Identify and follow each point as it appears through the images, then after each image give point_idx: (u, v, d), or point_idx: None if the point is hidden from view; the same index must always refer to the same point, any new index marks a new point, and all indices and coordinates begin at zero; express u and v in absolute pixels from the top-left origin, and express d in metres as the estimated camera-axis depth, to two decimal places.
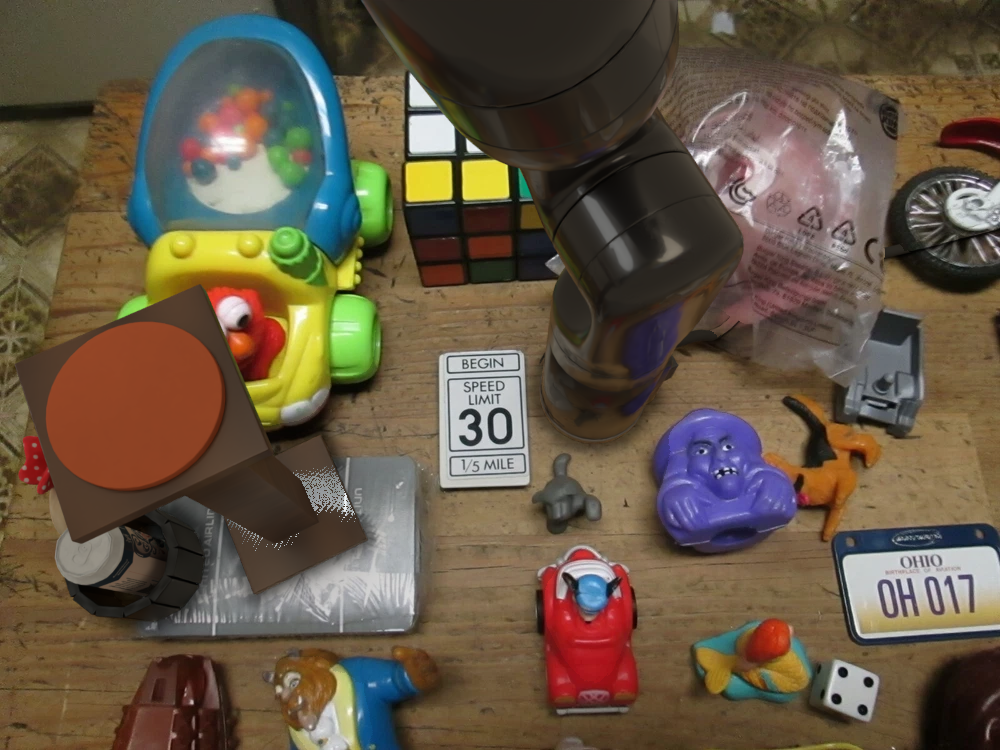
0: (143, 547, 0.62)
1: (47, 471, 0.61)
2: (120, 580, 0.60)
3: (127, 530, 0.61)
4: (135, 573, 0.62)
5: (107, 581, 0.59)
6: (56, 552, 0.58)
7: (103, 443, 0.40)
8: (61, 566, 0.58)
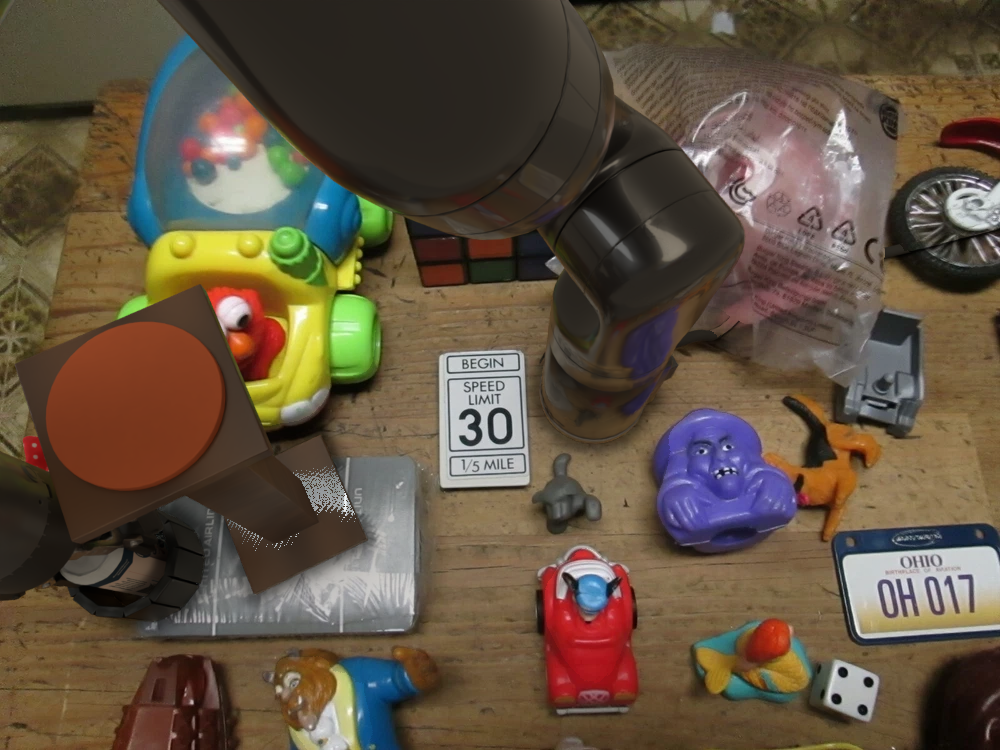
0: None
1: None
2: (120, 580, 0.60)
3: None
4: (135, 573, 0.62)
5: (107, 581, 0.59)
6: None
7: (103, 443, 0.40)
8: None
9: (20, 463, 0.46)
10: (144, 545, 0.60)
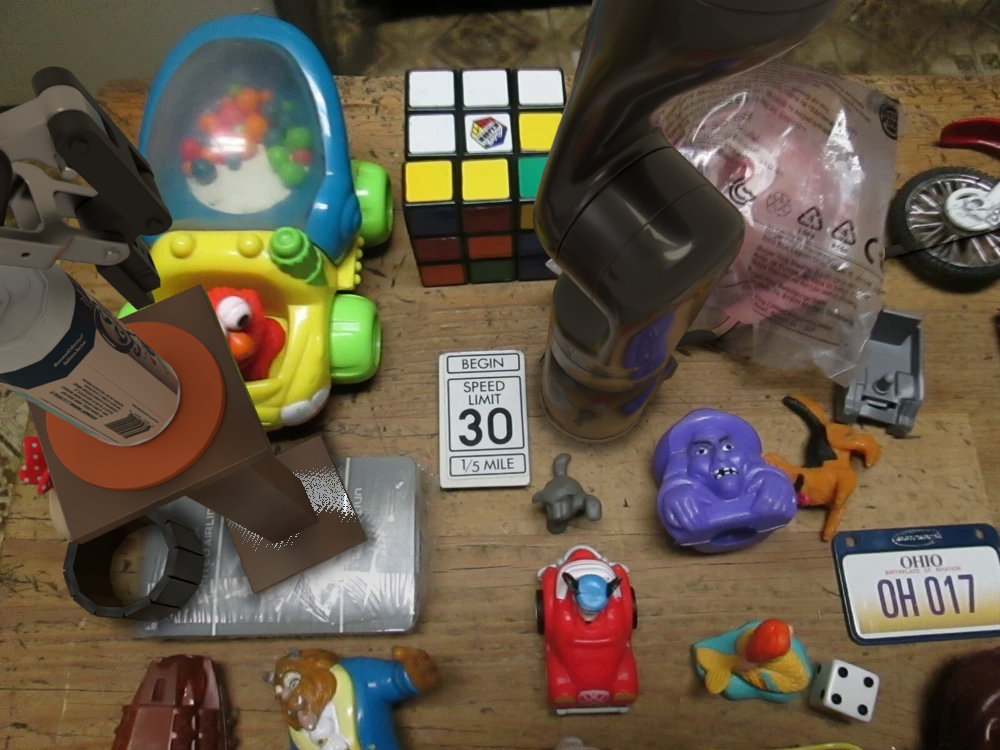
0: (116, 331, 0.34)
1: (47, 471, 0.61)
2: (70, 380, 0.32)
3: (84, 291, 0.33)
4: (100, 375, 0.33)
5: (43, 375, 0.31)
6: None
7: (103, 443, 0.40)
8: None
9: None
10: (133, 279, 0.31)
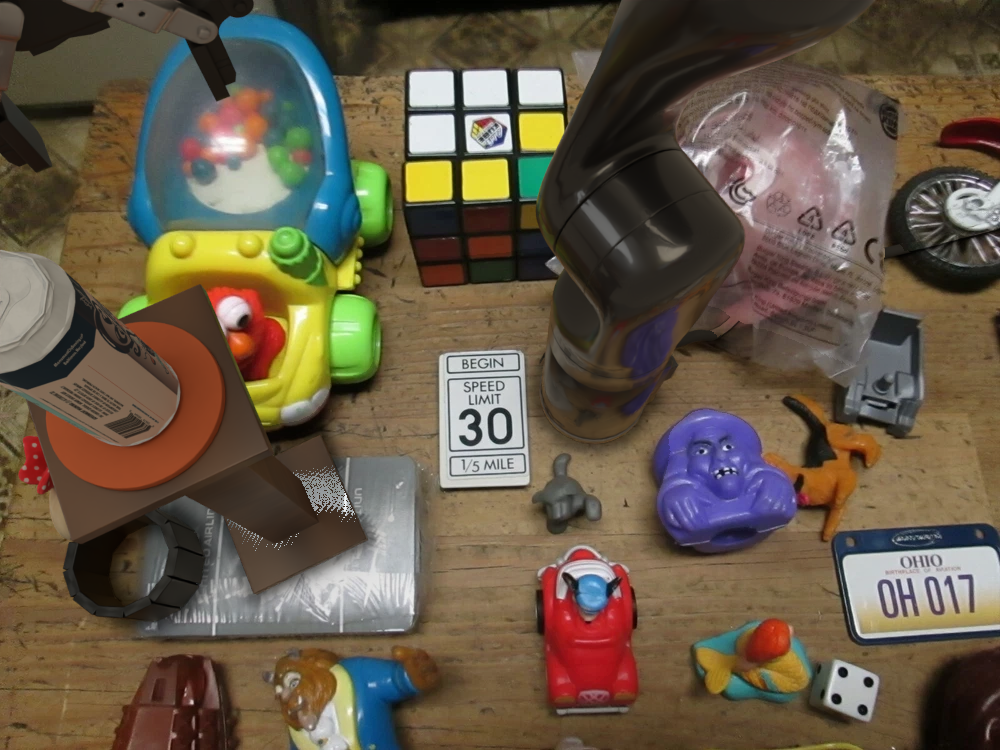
0: (116, 331, 0.34)
1: (47, 471, 0.61)
2: (70, 380, 0.32)
3: (84, 291, 0.33)
4: (100, 375, 0.33)
5: (43, 375, 0.31)
6: None
7: (103, 443, 0.40)
8: None
9: None
10: (216, 67, 0.37)
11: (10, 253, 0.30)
